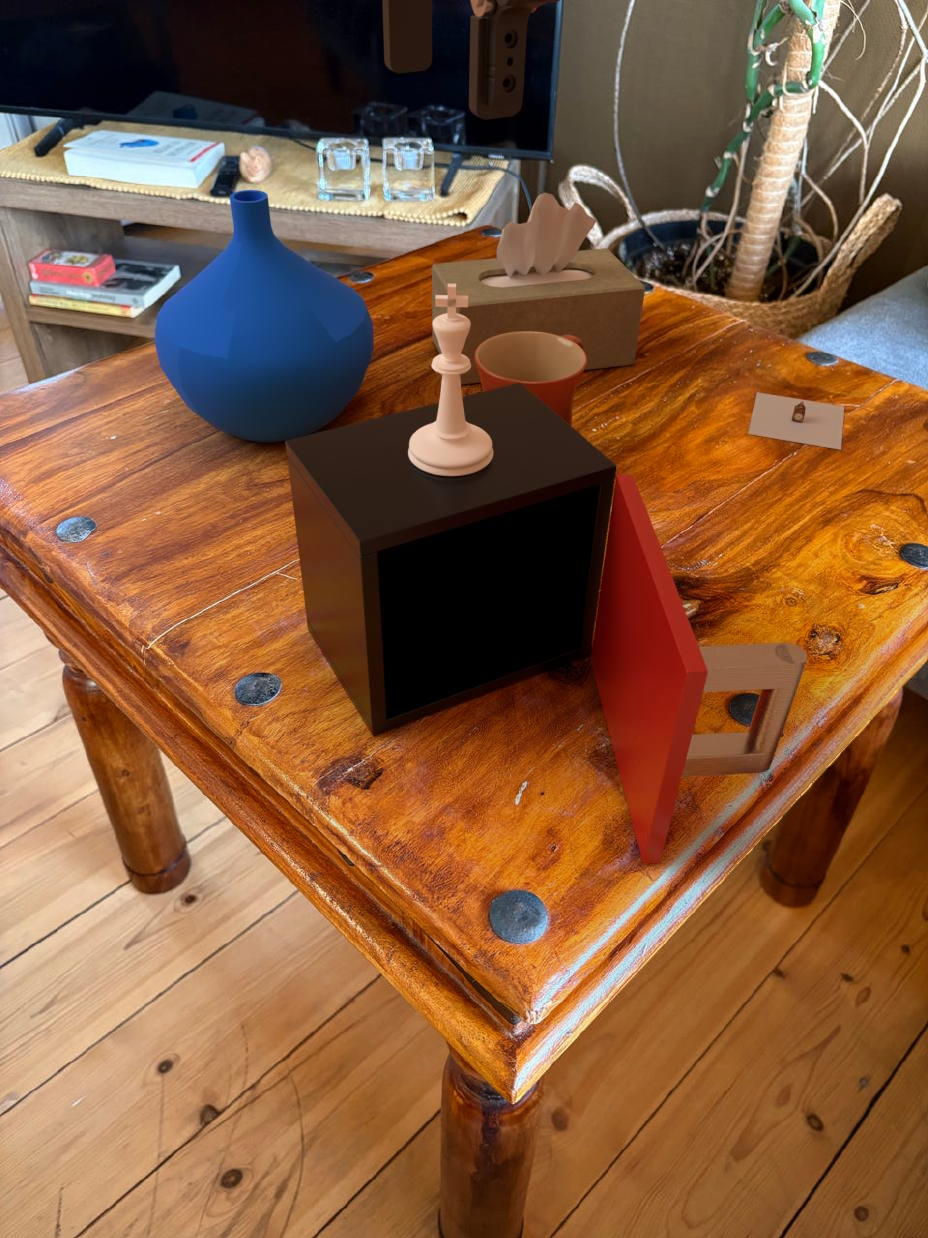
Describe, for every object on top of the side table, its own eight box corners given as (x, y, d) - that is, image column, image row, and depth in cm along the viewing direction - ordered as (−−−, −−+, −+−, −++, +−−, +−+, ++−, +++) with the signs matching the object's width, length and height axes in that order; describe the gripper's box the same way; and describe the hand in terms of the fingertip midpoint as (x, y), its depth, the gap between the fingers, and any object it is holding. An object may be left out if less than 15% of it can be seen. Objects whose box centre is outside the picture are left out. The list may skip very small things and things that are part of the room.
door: (690, 656, 66) (733, 470, 57) (764, 856, 54) (834, 665, 45) (590, 660, 66) (615, 474, 56) (642, 864, 54) (687, 672, 44)
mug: (539, 510, 79) (549, 394, 72) (451, 473, 83) (452, 360, 76) (612, 446, 86) (627, 335, 80) (528, 415, 90) (535, 307, 83)
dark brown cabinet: (591, 655, 67) (617, 465, 57) (372, 737, 61) (359, 541, 51) (509, 564, 74) (520, 381, 64) (307, 629, 68) (284, 440, 58)
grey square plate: (748, 433, 88) (752, 415, 87) (756, 392, 94) (761, 374, 93) (841, 449, 86) (846, 431, 85) (844, 406, 92) (849, 388, 91)
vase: (402, 448, 86) (396, 224, 73) (188, 486, 81) (141, 253, 68) (347, 354, 98) (334, 150, 86) (159, 382, 94) (115, 170, 81)
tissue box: (453, 386, 94) (454, 217, 83) (429, 341, 101) (427, 179, 90) (638, 365, 98) (661, 200, 87) (602, 322, 105) (620, 165, 94)
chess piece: (493, 477, 55) (500, 306, 49) (405, 476, 55) (400, 304, 49) (492, 431, 59) (499, 266, 52) (410, 429, 59) (406, 265, 52)
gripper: (665, -441, 31) (606, 123, 41) (453, -403, 40) (450, 49, 51) (450, -464, 28) (447, 146, 39) (277, -418, 37) (313, 64, 48)
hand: (449, 91), depth 45 cm, fingers open, 8 cm apart
